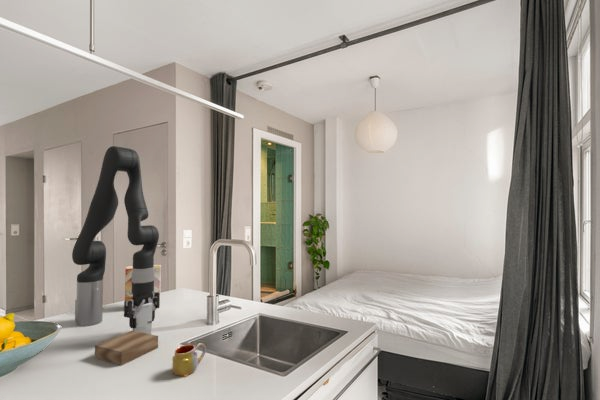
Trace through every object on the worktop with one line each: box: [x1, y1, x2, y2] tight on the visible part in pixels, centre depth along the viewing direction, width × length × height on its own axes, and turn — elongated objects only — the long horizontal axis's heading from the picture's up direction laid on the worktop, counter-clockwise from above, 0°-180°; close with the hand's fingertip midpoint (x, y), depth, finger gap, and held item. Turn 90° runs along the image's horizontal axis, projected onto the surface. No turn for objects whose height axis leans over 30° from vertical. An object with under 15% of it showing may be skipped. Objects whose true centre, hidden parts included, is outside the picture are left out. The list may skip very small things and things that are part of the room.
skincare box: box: [132, 303, 153, 335], centre depth 125 cm, size 6×4×12 cm
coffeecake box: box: [124, 264, 162, 309], centre depth 161 cm, size 15×7×20 cm, turn 111°
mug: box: [171, 342, 207, 378], centre depth 101 cm, size 12×7×7 cm, turn 150°
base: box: [94, 330, 159, 366], centre depth 111 cm, size 12×14×4 cm
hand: (142, 324), depth 125 cm, fingers open, 7 cm apart
